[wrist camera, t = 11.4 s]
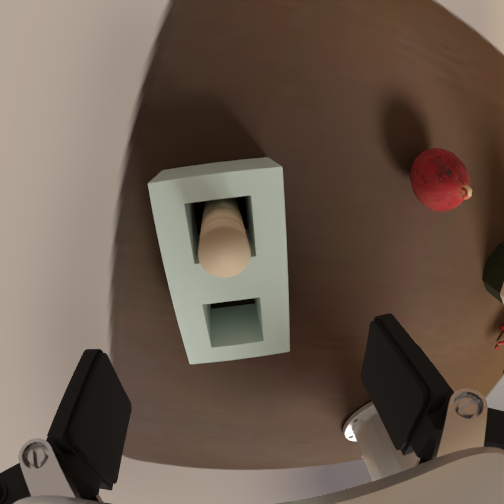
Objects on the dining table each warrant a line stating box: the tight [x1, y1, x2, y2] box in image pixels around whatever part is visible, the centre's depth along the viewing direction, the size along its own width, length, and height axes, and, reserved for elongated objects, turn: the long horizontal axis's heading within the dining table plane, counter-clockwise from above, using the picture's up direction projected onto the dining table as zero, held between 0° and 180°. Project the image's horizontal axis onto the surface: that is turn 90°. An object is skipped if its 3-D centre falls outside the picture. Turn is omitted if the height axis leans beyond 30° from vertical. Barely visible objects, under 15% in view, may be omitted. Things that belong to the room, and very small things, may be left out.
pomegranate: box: [410, 148, 472, 211], centre depth 24 cm, size 6×6×8 cm
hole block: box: [148, 157, 290, 364], centre depth 26 cm, size 16×9×6 cm, turn 5°
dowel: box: [198, 197, 251, 278], centre depth 22 cm, size 3×3×10 cm
